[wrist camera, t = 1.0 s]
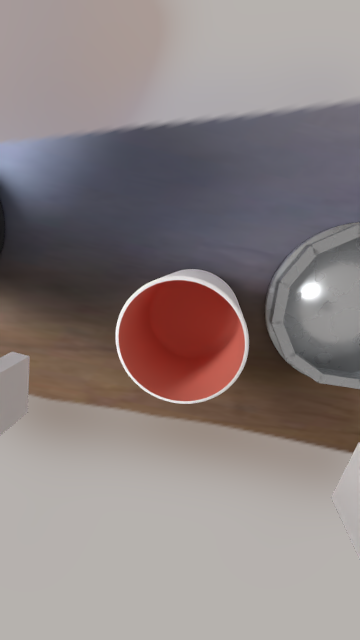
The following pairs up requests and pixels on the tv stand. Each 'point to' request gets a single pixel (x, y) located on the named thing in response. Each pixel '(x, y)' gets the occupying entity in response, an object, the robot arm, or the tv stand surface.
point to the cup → (183, 337)
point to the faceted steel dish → (319, 307)
